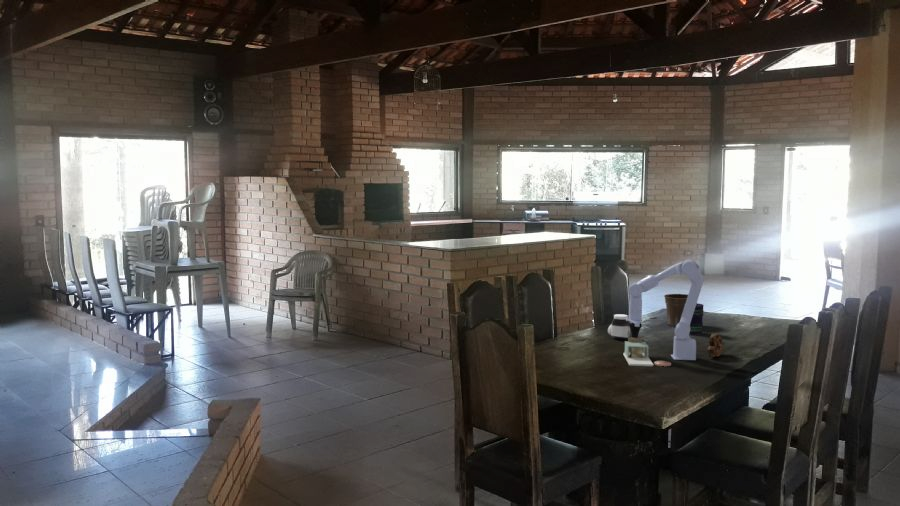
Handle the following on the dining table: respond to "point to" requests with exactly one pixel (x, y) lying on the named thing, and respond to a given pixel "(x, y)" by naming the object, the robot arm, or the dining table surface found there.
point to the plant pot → (675, 307)
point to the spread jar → (619, 327)
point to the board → (638, 361)
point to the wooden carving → (715, 345)
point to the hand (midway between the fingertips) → (634, 339)
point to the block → (636, 352)
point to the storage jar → (697, 320)
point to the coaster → (662, 363)
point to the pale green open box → (636, 345)
